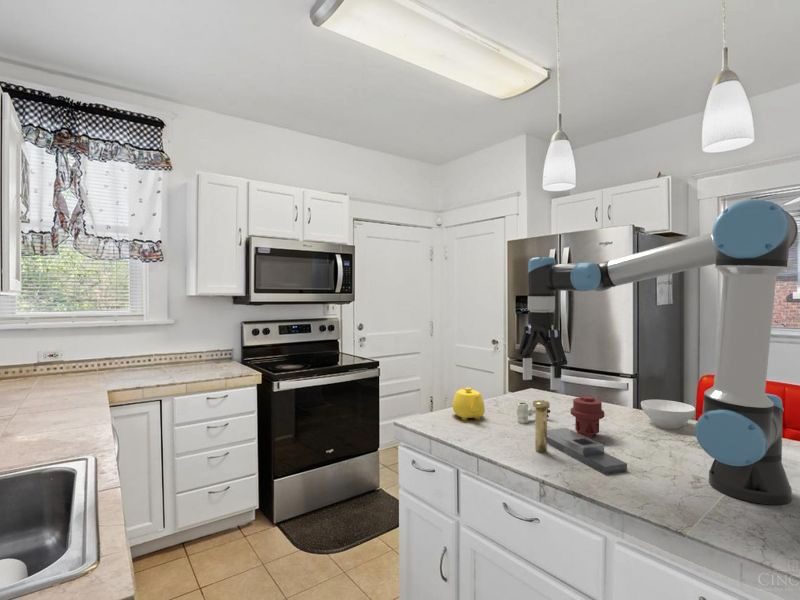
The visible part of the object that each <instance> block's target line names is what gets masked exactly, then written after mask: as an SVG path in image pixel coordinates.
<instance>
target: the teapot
mask: <svg viewBox="0 0 800 600" xmlns="http://www.w3.org/2000/svg"><path fill="white" fill-rule="evenodd" d="M485 407H486V406H485V402H484V400H483V397H482V395H481V393H480V391H478V390H475V389H473V388H471V387H465V388H460V389H459V390H457V391H456V392H455V394H454V397H453V401H452V411H453V412H454V414H455V415H456V417H460V418H461V421H468V419H470V418H471V419H473V418H474V419H475V420H481V418H482V417H483V416H484V414H485V411H486V409H485Z"/></svg>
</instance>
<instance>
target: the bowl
mask: <svg viewBox="0 0 800 600" xmlns="http://www.w3.org/2000/svg"><path fill="white" fill-rule="evenodd" d="M640 406H641V408H642V411H643V412H644V414H645V415H646V416H647V417H648V418H649V420H651V422H652V423H653V424H654V425H655V426H656V427H659V428H663V429H666V430H667V429H668V430H677V429H678V430H679V429H680V428H681V427H683V425H685V423H687V422H688V421H690V420H691V419H692V418H693V416H694V415H695V413H696V407H694V406H693V405H691V404H688V403H684V402H680V401H675V400H667V399H646V400H641V402H640Z"/></svg>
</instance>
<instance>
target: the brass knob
mask: <svg viewBox="0 0 800 600" xmlns="http://www.w3.org/2000/svg"><path fill="white" fill-rule="evenodd" d="M550 406H551V405H550V402H549V401H546V400H544V401H542V400H541V399H540V400H539V399H538V400H537V399H536V400H533V401H532V407H533V408H535V413H534V414H535V415H534V416H535V419H534V421H535V431H534V432H535V435H534V437H535V438H534V439H535V447H534V448H535V449H534V450H535V452H536V453H540V454H546V453H547V452H548V443H547V430H548V418H547V414H548V413H547V408H548V409H549V408H550Z"/></svg>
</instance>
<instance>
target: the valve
mask: <svg viewBox="0 0 800 600" xmlns="http://www.w3.org/2000/svg"><path fill="white" fill-rule="evenodd" d="M541 401H545V400H544V399H543V400H541ZM516 406H517V408H516V416H517V417H516V418H517V422H518V423H520V424H528V423H529V418H528V417H531V416H533V415H534V414H535V407H533V408H532V407H531V406H530V407H529V403H528V402H524V401H523V402H520V401H519V402H517V405H516ZM550 413H551V410H550V409H549V408H547V419H548V418H549V414H550Z"/></svg>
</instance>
